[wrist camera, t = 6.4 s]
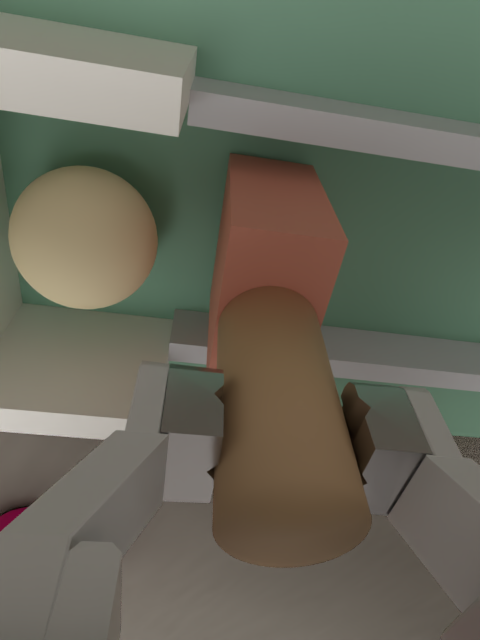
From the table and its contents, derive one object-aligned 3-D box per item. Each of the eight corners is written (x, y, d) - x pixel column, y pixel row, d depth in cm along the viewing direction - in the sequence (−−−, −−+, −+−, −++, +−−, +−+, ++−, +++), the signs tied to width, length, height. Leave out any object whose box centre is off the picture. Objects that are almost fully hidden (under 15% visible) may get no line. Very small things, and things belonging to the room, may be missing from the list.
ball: (-42, 173, 11) (57, 136, 14) (-13, 313, 13) (66, 253, 16) (118, 216, 10) (182, 166, 13) (118, 353, 12) (173, 283, 16)
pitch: (794, -28, 12) (1166, -36, 7) (482, 422, 23) (551, 541, 18) (-85, -226, 10) (-387, -430, 5) (21, 380, 20) (-44, 504, 15)
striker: (312, 165, 14) (436, 427, 6) (278, 302, 17) (327, 604, 9) (230, 152, 13) (233, 408, 5) (209, 294, 16) (193, 599, 8)
